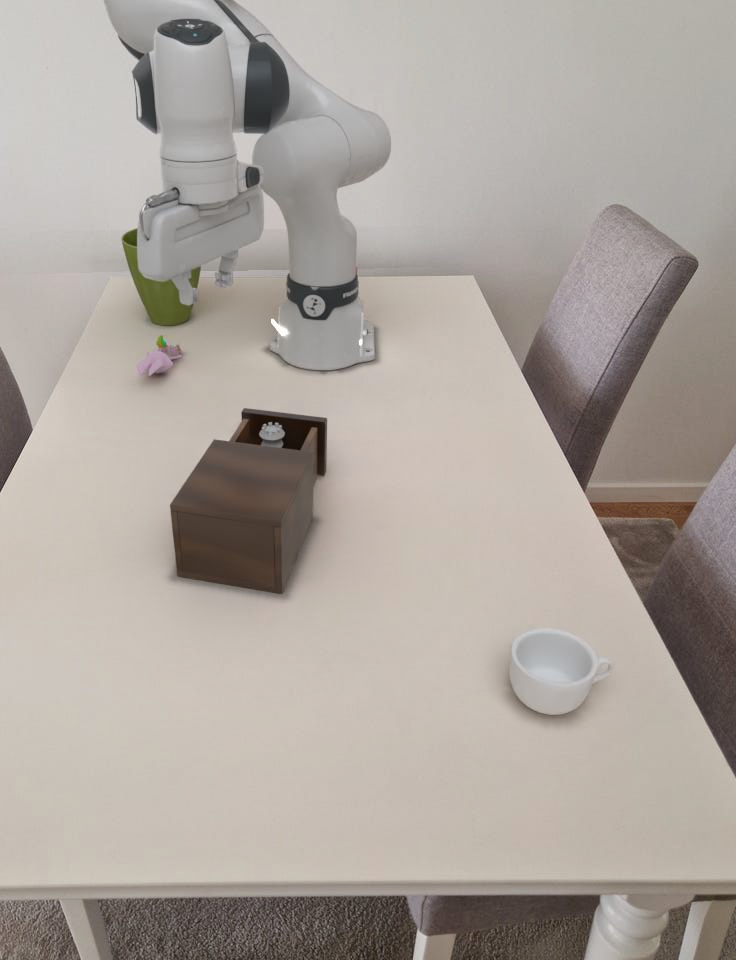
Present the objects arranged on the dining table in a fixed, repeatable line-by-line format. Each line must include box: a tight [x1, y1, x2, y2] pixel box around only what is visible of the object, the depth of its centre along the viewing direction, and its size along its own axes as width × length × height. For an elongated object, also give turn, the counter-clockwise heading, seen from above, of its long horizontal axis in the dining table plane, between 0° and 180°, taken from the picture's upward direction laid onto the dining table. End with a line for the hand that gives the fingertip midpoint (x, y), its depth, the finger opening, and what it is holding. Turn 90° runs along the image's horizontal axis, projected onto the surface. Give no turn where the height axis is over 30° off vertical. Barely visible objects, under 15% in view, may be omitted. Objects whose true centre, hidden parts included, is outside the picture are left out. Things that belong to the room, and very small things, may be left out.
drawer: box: [228, 407, 328, 488], centre depth 110 cm, size 18×11×8 cm, turn 165°
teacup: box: [508, 627, 615, 716], centre depth 80 cm, size 10×8×5 cm
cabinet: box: [169, 438, 314, 595], centre depth 99 cm, size 15×13×10 cm
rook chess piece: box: [259, 422, 285, 448], centre depth 108 cm, size 4×4×8 cm
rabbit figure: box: [136, 334, 183, 377], centre depth 142 cm, size 6×6×15 cm
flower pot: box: [120, 227, 202, 326], centre depth 158 cm, size 15×15×16 cm
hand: (207, 294), depth 105 cm, fingers open, 6 cm apart
